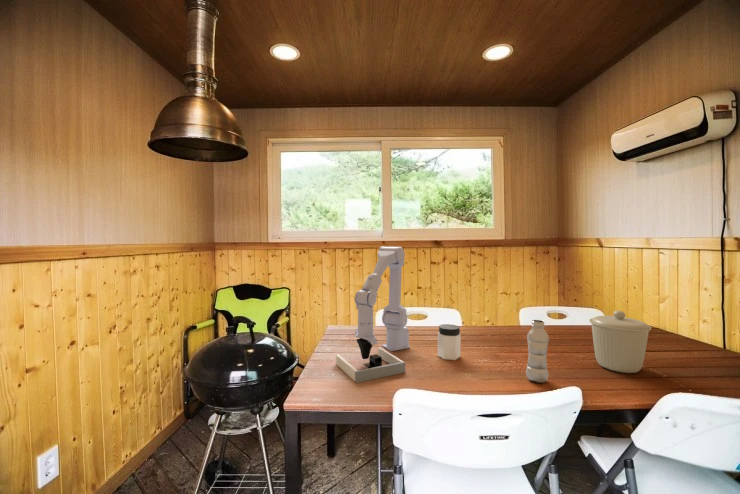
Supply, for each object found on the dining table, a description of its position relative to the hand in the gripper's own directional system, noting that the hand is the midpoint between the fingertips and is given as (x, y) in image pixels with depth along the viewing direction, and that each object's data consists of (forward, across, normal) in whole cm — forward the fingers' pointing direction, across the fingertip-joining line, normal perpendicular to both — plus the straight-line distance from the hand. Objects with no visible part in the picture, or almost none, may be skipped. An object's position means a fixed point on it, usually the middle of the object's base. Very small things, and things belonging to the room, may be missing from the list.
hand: (365, 358), depth 123 cm
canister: (+3, +44, +82) cm, 93 cm away
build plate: (+3, +4, +2) cm, 5 cm away
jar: (+3, +7, +34) cm, 35 cm away
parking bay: (+2, +3, 0) cm, 4 cm away
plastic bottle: (+3, +38, +45) cm, 59 cm away
